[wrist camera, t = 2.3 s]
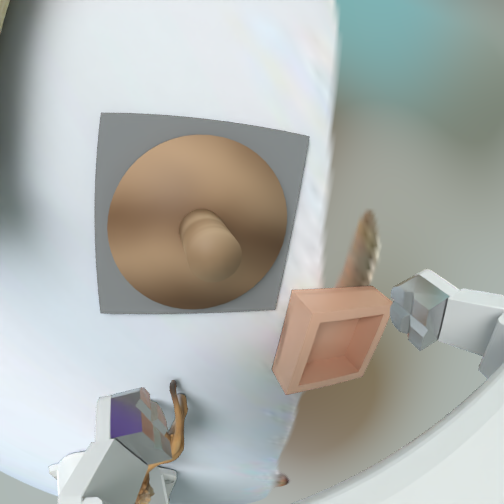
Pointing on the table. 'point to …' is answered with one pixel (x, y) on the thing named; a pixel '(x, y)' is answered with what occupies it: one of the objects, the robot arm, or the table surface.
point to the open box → (329, 336)
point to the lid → (197, 221)
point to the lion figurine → (176, 442)
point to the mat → (152, 134)
